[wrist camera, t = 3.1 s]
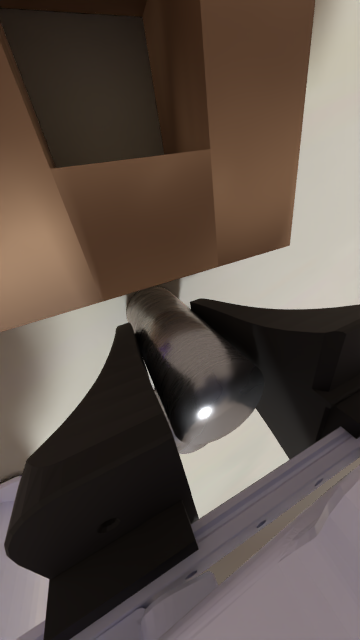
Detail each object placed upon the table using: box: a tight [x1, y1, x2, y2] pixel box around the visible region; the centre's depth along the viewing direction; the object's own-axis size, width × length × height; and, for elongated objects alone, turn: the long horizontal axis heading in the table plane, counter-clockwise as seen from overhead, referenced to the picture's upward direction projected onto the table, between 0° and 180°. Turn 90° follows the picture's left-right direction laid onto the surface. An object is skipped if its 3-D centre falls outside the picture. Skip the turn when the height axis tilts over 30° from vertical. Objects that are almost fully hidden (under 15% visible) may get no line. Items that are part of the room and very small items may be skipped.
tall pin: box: [126, 286, 264, 445], centre depth 9 cm, size 3×3×8 cm
